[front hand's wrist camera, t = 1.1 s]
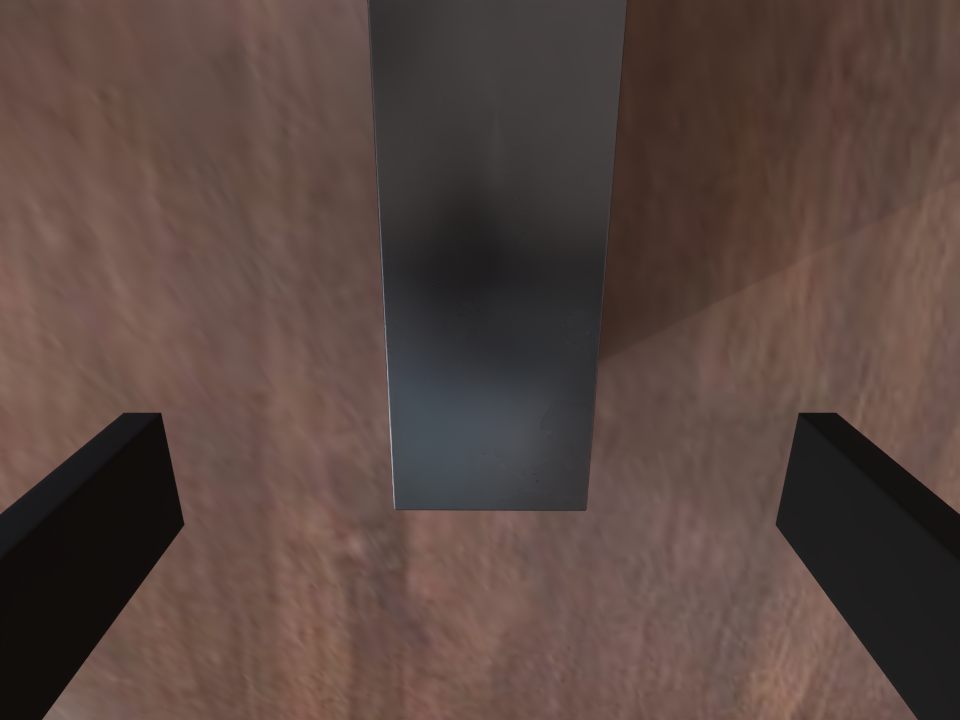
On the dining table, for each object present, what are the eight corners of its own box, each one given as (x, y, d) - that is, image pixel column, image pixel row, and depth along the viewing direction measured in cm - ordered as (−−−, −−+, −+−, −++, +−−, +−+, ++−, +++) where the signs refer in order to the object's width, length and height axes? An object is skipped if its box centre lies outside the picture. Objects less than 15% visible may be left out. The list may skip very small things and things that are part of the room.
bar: (552, 387, 28) (586, 511, 19) (420, 386, 28) (393, 510, 19) (586, -267, 19) (675, -590, 11) (400, -269, 19) (335, -594, 11)
